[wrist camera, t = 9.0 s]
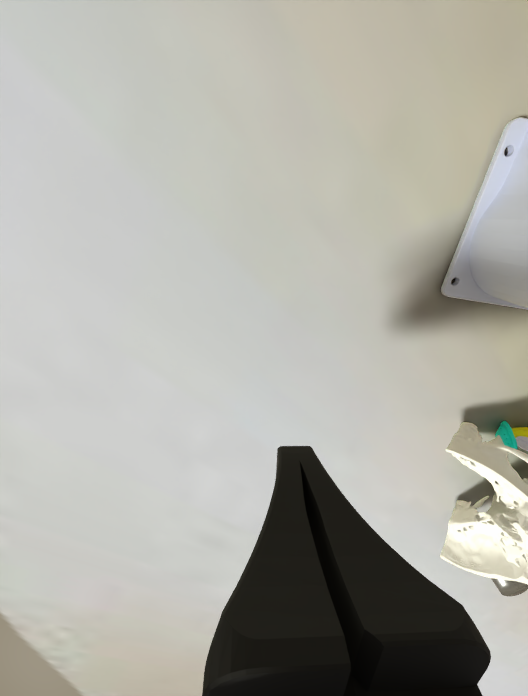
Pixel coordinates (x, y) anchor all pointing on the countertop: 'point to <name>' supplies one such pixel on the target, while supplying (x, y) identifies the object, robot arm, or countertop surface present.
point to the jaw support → (504, 514)
